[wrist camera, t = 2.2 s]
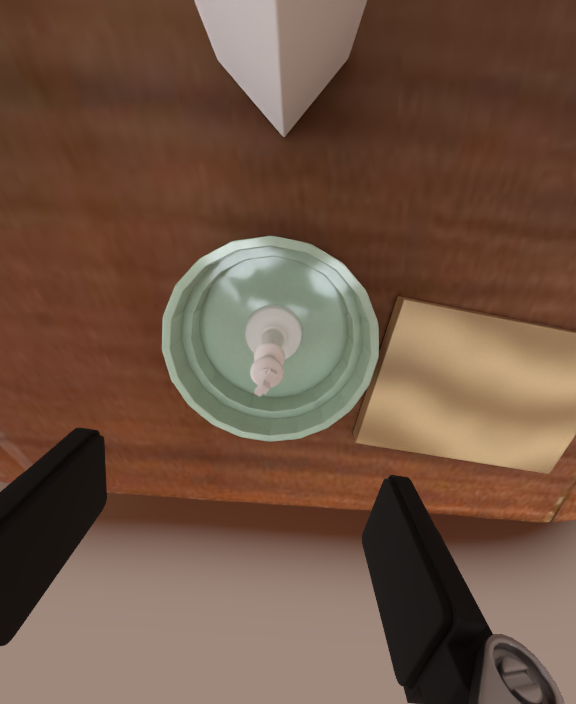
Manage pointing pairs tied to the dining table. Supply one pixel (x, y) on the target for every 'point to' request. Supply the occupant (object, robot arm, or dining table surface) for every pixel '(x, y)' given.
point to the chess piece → (271, 344)
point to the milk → (282, 49)
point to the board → (471, 387)
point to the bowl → (236, 357)
